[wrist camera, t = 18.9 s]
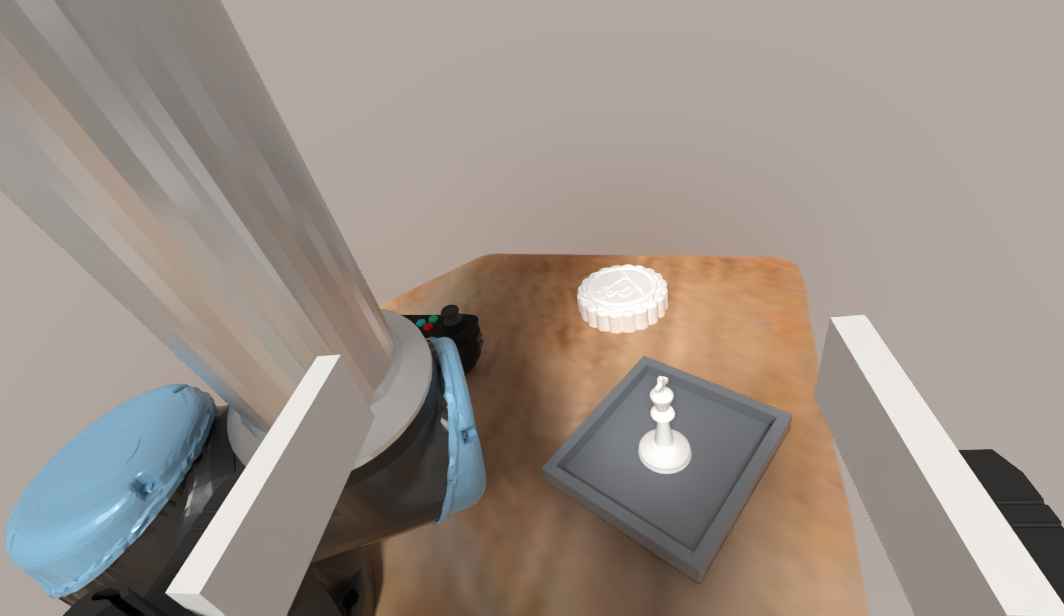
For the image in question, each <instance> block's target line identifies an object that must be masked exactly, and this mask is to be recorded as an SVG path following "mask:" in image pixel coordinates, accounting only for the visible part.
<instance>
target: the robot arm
mask: <svg viewBox="0 0 1064 616" xmlns="http://www.w3.org/2000/svg"><path fill="white" fill-rule="evenodd" d="M0 190H1V191H2V192H3V193H4V194H5V195H6V196H7V197H8V198H9V199H10V200H11V201H13V202H14V203H15V204H16V205H17V206H18V207H19V208H20V209H21V210H22V211H23V212H24V213H25V214H26V215H27V216H28V217H29V218H31V219H32V220H33V221H34V222H35V223H36V224H37V225H38V226H39V227H40V228H41V229H42V230H43V231H44V232H46V234H48V235H49V236H50V237H51V238H52V239H53V240H54V241H55V242H56V243H57V244H58V245H59V246H60V247H61V248H63V249H64V250H65V251H66V252H67V253H68V254H69V255H70V256H71V257H72V258H73V259H74V260H75V261H77V263H78V264H80V265H81V266H82V267H83V268H84V269H85V270H86V271H87V272H88V273H89V274H90V275H91V276H92V277H93V278H95V279H96V280H97V281H98V282H99V283H100V284H101V285H102V286H103V287H104V288H105V289H106V290H107V291H108V292H109V293H110V294H111V295H113V296H114V297H115V298H116V299H117V300H118V301H119V302H120V303H121V304H122V305H123V306H124V307H126V309H127V310H129V311H130V312H131V313H132V314H133V315H134V316H135V317H136V318H137V319H138V320H139V321H140V322H141V323H142V324H144V325H145V326H146V327H147V328H148V329H149V330H150V331H151V332H152V333H153V334H154V335H155V336H156V337H157V338H158V339H160V340H161V341H162V342H163V343H164V344H165V345H166V346H167V347H168V348H169V349H170V350H171V351H172V352H173V353H174V354H175V355H176V356H178V357H179V358H180V359H181V360H182V361H183V362H184V363H185V364H186V365H187V366H188V367H189V368H190V369H192V370H193V371H194V372H195V373H196V374H197V375H198V376H199V377H200V378H201V379H202V380H203V381H204V382H205V383H206V384H207V385H209V386H210V387H211V388H212V389H213V390H214V391H215V392H216V393H217V394H218V395H219V396H220V397H221V398H222V399H223V400H225V401H226V402H227V403H228V405H226V406H220V407H218V406H216V405H215V404H214V399H213V398H212V397H211V396H210V394H209V393H206V392H202V391H201V390H200V389H198V388H196V387H190V386H189V385H186V384H174V385H168V386H163V387H159V388H156V389H153V390H151V391H148V392H146V393H143V394H141V395H139V396H136V397H134V398H132V399H130V400H128V401H127V402H125V403H123V404H121V405H119V406H117V407H116V408H115V409H113V410H111V411H109V412H108V413H106V414H105V415H103V416H102V417H100V418H99V419H97V420H96V421H95V422H93V423H92V424H90V425H89V426H88V427H86V428H85V429H84V430H83V431H81V432H80V433H79V434H78V435H77V436H76V437H74V438H73V439H72V440H70V441H69V442H68V443H67V444H66V445H65V446H64V447H62V448H61V449H60V450H59V451H58V452H57V453H56V454H55V455H54V456H53V457H52V458H51V459H50V460H49V461H48V462H47V463H46V464H45V466H44V467H43V468H42V469H41V470H40V471H39V472H38V473H37V475H36V476H35V477H34V478H33V479H32V481H31V482H30V483H29V485H28V486H27V487H26V489H25V490H24V492H23V493H22V495H21V496H20V498H19V500H18V502H17V503H16V505H15V507H14V509H13V511H12V513H11V515H10V518H9V521H8V524H7V529H6V533H5V545H6V551H7V553H8V554H9V556H10V559H11V560H12V561H13V563H14V564H15V565H16V566H17V567H18V568H20V569H21V570H22V571H24V572H25V573H26V574H28V575H29V576H30V577H31V578H33V579H34V580H35V581H37V582H38V583H39V584H40V585H41V587H42V589H43V592H44V593H45V594H46V595H48V596H50V597H52V598H56V597H57V598H59V599H60V600H62V601H63V602H65V603H67V604H68V605H70V606H72V607H71V608H70V609H69V610H68V611H67V612H66V613H65V614H64V615H63V616H372V615H373V610H374V604H375V580H374V575H373V571H372V568H371V566H370V563H369V561H368V559H367V558H366V556H365V555H364V554H363V552H362V551H361V550H360V548H363V547H365V546H368V545H371V544H374V543H377V542H379V541H382V540H385V539H388V538H390V537H393V536H396V535H399V534H402V533H404V532H407V531H410V530H413V529H416V528H418V527H421V526H424V525H427V524H430V523H432V524H438V523H442V522H443V521H444V520H445V519H446V518H447V517H448V516H450V515H452V514H455V513H457V512H459V511H462V510H464V509H467V508H469V507H471V506H473V505H475V504H476V503H477V502H478V501H479V500H480V499H481V497H482V496H483V494H484V491H485V488H486V473H485V466H484V460H483V455H482V450H481V445H480V440H479V436H478V433H477V431H476V423H475V419H474V412H473V408H472V403H471V399H470V395H469V390H468V386H467V382H466V378H465V374H464V371H463V367H462V363H461V360H460V356H459V353H458V350H457V347H456V344H455V343H454V341H453V340H452V339H450V338H447V337H441V338H435V337H430V338H426V339H425V338H424V336H423V334H422V333H421V331H420V330H419V328H418V327H417V326H416V325H415V324H413V323H412V322H411V321H410V320H408V319H407V318H405V317H404V316H402V315H399V314H397V313H395V312H392V311H389V310H385V309H380V308H379V306H378V304H377V302H376V300H375V298H374V296H373V294H372V292H371V290H370V288H369V286H368V285H367V283H366V280H365V279H364V277H363V275H362V273H361V271H360V269H359V267H358V265H357V263H356V261H355V259H354V257H353V255H352V253H351V251H350V250H349V248H348V246H347V244H346V242H345V240H344V238H343V236H342V234H341V232H340V230H339V228H338V226H337V225H336V222H335V221H334V219H333V217H332V215H331V213H330V211H329V209H328V207H327V205H326V203H325V201H324V199H323V198H322V195H321V193H320V192H319V190H318V188H317V186H316V184H315V182H314V180H313V178H312V176H311V174H310V172H309V171H308V168H307V166H306V164H305V162H304V161H303V159H302V157H301V155H300V153H299V151H298V149H297V147H296V145H295V143H294V141H293V139H292V137H291V136H290V133H289V132H288V130H287V128H286V126H285V124H284V122H283V120H282V118H281V116H280V114H279V112H278V110H277V108H276V106H275V104H274V103H273V101H272V99H271V97H270V95H269V93H268V91H267V89H266V87H265V85H264V83H263V81H262V79H261V78H260V75H259V74H258V72H257V70H256V68H255V66H254V64H253V62H252V60H251V58H250V56H249V54H248V52H247V50H246V49H245V46H244V45H243V43H242V41H241V39H240V37H239V35H238V33H237V31H236V29H235V27H234V25H233V23H232V21H231V19H230V17H229V16H228V14H227V12H226V10H225V8H224V6H223V4H222V2H221V0H0ZM814 397H815V400H816V402H817V404H818V406H819V408H820V410H821V413H822V415H823V417H824V419H825V421H826V423H827V426H828V428H829V430H830V432H831V434H832V436H833V439H834V441H835V443H836V445H837V447H838V449H839V451H840V454H841V456H842V458H843V460H844V462H845V465H846V467H847V469H848V471H849V473H850V475H851V478H852V480H853V482H854V484H855V486H856V488H857V491H858V493H859V495H860V497H861V499H862V501H863V503H864V506H865V508H866V510H867V512H868V514H869V517H870V519H871V521H872V523H873V525H874V527H875V530H876V532H877V534H878V536H879V538H880V541H881V543H882V545H883V547H884V549H885V551H886V553H887V555H888V558H889V560H890V562H891V564H892V566H893V569H894V570H895V573H896V575H897V577H898V579H899V582H900V584H901V586H902V588H903V590H904V592H905V595H906V597H907V599H908V601H909V603H910V605H911V608H912V610H913V612H914V614H915V616H1064V528H1063V527H1062V525H1061V521H1060V520H1059V518H1058V517H1057V516H1056V515H1055V514H1054V512H1053V511H1052V509H1051V508H1050V507H1049V506H1048V505H1045V504H1044V500H1043V498H1042V497H1041V495H1040V494H1039V493H1038V492H1037V490H1036V489H1035V488H1034V486H1033V485H1032V484H1031V482H1030V481H1029V480H1028V479H1027V477H1026V476H1025V475H1024V473H1023V472H1022V471H1020V470H1019V469H1018V468H1016V467H1015V466H1014V465H1012V464H1011V463H1010V462H1008V461H1007V460H1006V459H1004V458H1003V457H1002V456H1000V455H999V454H998V453H996V452H995V451H994V450H992V449H986V450H985V449H984V450H957V448H956V447H955V445H954V444H953V442H952V441H951V440H950V438H949V436H948V435H947V434H946V432H945V431H944V429H943V428H942V426H941V425H940V423H939V422H938V421H937V419H936V418H935V416H934V415H933V413H932V412H931V410H930V409H929V407H928V406H927V405H926V403H925V402H924V400H923V399H922V397H921V396H920V394H919V393H918V391H917V390H916V388H915V387H914V386H913V384H912V383H911V381H910V380H909V378H908V377H907V375H906V374H905V372H904V371H903V370H902V368H901V367H900V365H899V364H898V362H897V361H896V359H895V358H894V357H893V355H892V354H891V353H890V351H889V349H888V348H887V346H886V345H885V343H884V342H883V341H882V339H881V338H880V336H879V335H878V333H877V332H876V330H875V329H874V328H873V326H872V324H871V323H870V322H869V320H868V319H867V317H866V316H865V315H859V316H844V317H831V318H830V321H829V325H828V331H827V335H826V340H825V345H824V349H823V354H822V359H821V364H820V368H819V373H818V378H817V383H816V387H815V392H814Z"/></svg>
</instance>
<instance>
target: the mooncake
mask: <svg viewBox="0 0 1064 616" xmlns="http://www.w3.org/2000/svg"><path fill="white" fill-rule="evenodd" d="M577 301H578V307H579V312H580V314H581V315H582V319H583V320H584V321H585V322H588V324H589V326H590V327H593V328H598V329H599V330H600V331H603V332H607V331H610V332H611V333H615V334H617V333H621V332H625V333H632V332H634V331H636V330H644V329H646V328H647V327H648V326H649V325H653V324H656V323H657V322H658V320H659V318H661V317H663V316H664V315H665V310H666V309H667V308H668V289H667V282H666V281H665V280H664V279H663V277H662V275H661V274H659V273H655V271H654V270H653V269H650V268H644V267H643V266H640V265H637V266H633V265H631V264H626V265H623V266H619V265H614V266H612V267H610V268H603V269H601V270H599V272H594V273H592V274H590V276H589V278H586V279H584V280H583V281H582V285H580V286H579V287H578V294H577Z"/></svg>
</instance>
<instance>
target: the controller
mask: <svg viewBox="0 0 1064 616" xmlns="http://www.w3.org/2000/svg"><path fill="white" fill-rule="evenodd" d="M458 311H459V309H458V307H457V306H456V305H448V306H446V307H444V308H443V309H442V310H441V315H402V316H404V317H405V318H407V319H408V320H410V321H411V322H412V323H413V324H415V325H416V326H417V327H418V328H419V330H420V331H421V333H422V334H423V336H424V338H425V339H426V338H430V337H435V338H441V337H447V338H450V339H452V340H453V341H454V343H455V344H456V347H457V350H458V353H459V356H460V360H461V363H462V367H463V371H464V374H466V373H468V372H469V371H470V370H472V368H473V367H474V366H475V364H476V363H477V361H478V359H479V356H480V353H481V347H482V345H483V342H484V340H483V339H481V337H482V333H480V328H479V325H478V317H477V316H475V315H468V314H459V313H458Z"/></svg>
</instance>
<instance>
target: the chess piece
mask: <svg viewBox="0 0 1064 616" xmlns="http://www.w3.org/2000/svg"><path fill="white" fill-rule="evenodd" d="M667 383H668V378H667V377H665V376H663V377H662V376H659V377H658V378H657V385H656V386H655V388H653V389H652V390H651V392H650V398H651V400H652V402H653V403H654V406H653V407H652V409H651V411H650V415H651V417H652V419H653V420H655V421H657V426H656V429H653V430H651V431H649V432H647V433H646V434H645V435H644V436H643V437H642V438H641V440H640V443H639V449H638V454H639V457H640V460H641V461H642V463H643V464H644V465H645V466H646V467H647V468H648V469H650V470H652V471H654V472H657V473H661V474H673V473H677V472H679V471H681V470H683V469H684V468H685V467H686V466H687V465H688V464H689V462H690V460H691V456H692V452H691V447H690V444H689V442H688V440H687V438H686V437H685V436H684V435H683V434H681V433H680V432H678V431H676V430H674V429H671V428H670V424H669V421H671V420H672V419H673V418H674V416H675V411H674V409H673V408H672V406H670V404H671V402H672V400H673V397H674V394H673V391H672V390H671V389H670V388H668V387H665V385H666V384H667Z"/></svg>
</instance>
